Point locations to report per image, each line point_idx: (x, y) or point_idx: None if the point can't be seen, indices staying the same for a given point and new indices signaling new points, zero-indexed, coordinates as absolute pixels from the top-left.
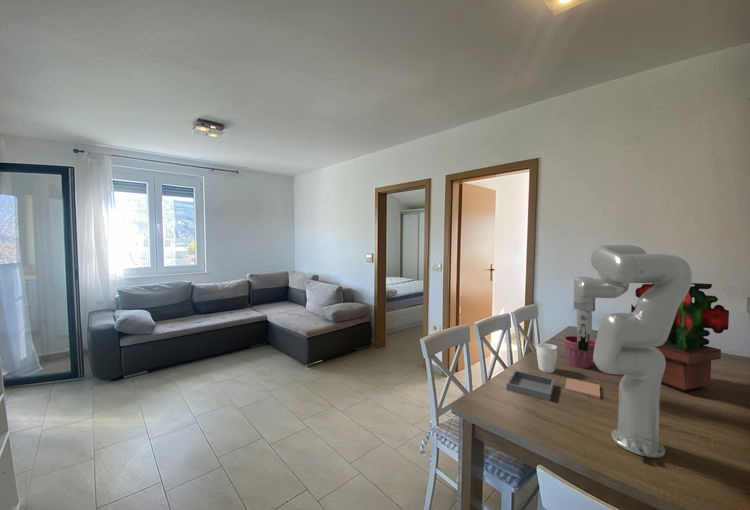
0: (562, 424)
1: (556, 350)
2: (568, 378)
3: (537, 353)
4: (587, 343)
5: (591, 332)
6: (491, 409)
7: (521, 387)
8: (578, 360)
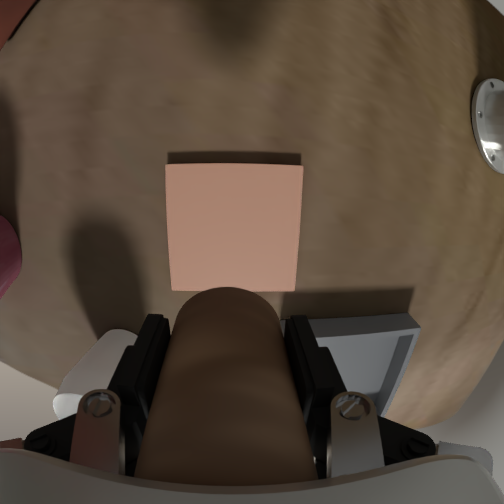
0: (485, 270)
1: (93, 389)
2: (175, 284)
3: None
4: (327, 372)
5: (448, 497)
6: (455, 386)
7: (396, 390)
8: (7, 261)
